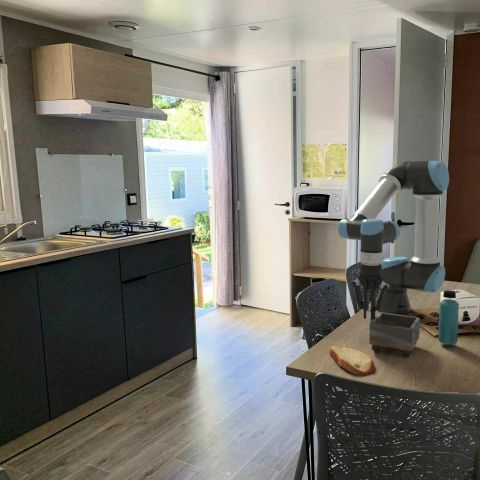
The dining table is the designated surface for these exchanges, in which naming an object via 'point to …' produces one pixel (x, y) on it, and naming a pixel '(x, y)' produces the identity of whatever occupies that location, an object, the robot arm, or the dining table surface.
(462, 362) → the dining table surface
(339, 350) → the bread slice
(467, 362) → the dining table surface
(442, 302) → the beverage bottle
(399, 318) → the cart
